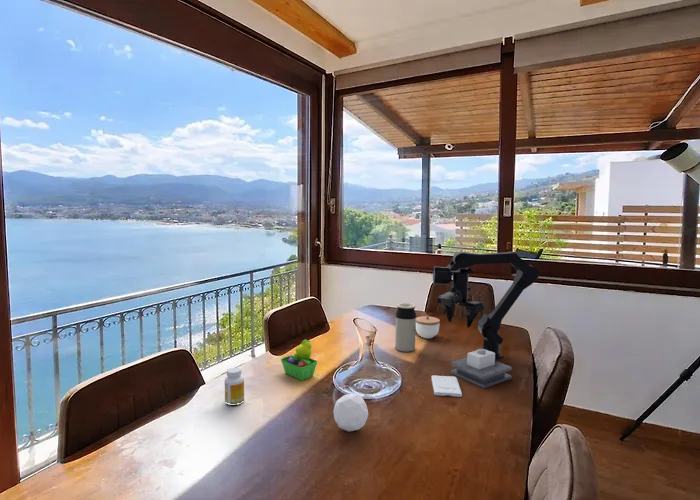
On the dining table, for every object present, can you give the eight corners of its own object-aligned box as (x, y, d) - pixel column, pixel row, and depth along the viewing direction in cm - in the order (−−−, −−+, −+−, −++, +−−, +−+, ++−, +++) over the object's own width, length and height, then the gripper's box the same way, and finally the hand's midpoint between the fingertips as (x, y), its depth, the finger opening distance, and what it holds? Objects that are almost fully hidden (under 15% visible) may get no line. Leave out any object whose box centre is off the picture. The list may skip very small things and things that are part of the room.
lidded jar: (442, 335, 180) (443, 314, 179) (434, 341, 171) (434, 320, 170) (420, 331, 186) (420, 311, 185) (410, 337, 177) (411, 316, 176)
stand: (477, 364, 146) (477, 354, 145) (511, 378, 134) (511, 366, 134) (450, 373, 138) (450, 361, 138) (484, 388, 126) (484, 376, 126)
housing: (467, 364, 136) (467, 350, 135) (482, 359, 140) (483, 345, 139) (479, 369, 131) (479, 354, 131) (494, 364, 136) (495, 350, 135)
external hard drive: (456, 381, 133) (462, 398, 121) (431, 379, 134) (434, 396, 122) (456, 376, 133) (462, 393, 121) (431, 375, 134) (434, 391, 122)
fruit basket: (279, 373, 137) (279, 341, 136) (299, 366, 143) (299, 335, 142) (301, 383, 129) (301, 349, 128) (321, 375, 136) (321, 342, 135)
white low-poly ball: (369, 434, 97) (375, 415, 108) (359, 396, 97) (366, 382, 109) (335, 441, 98) (345, 422, 110) (325, 404, 99) (336, 389, 111)
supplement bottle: (248, 399, 118) (247, 367, 117) (237, 408, 113) (236, 374, 112) (232, 396, 119) (231, 365, 118) (221, 405, 114) (220, 372, 113)
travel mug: (392, 350, 160) (393, 306, 158) (398, 344, 167) (399, 302, 166) (412, 353, 157) (413, 308, 155) (416, 346, 164) (418, 303, 163)
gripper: (427, 282, 157) (426, 321, 158) (465, 291, 141) (463, 334, 143) (447, 280, 163) (446, 317, 164) (485, 287, 147) (484, 329, 149)
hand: (458, 324), depth 155 cm, fingers open, 9 cm apart
